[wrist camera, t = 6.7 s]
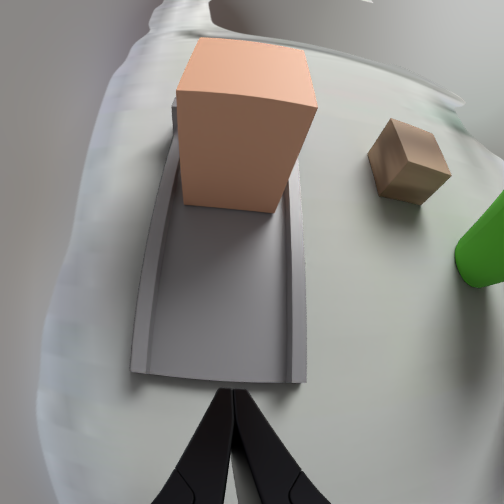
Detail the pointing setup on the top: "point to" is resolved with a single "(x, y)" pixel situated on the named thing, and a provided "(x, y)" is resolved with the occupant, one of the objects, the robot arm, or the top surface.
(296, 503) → the robot arm
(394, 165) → the walnut block
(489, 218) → the cup
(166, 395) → the top surface
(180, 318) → the track
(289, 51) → the terracotta block
